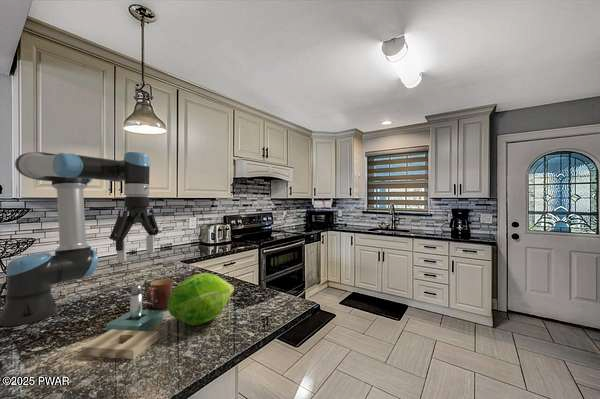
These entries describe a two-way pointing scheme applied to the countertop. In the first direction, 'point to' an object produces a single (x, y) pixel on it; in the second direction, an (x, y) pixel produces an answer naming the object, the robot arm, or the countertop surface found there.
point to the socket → (136, 321)
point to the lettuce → (199, 298)
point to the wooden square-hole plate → (112, 348)
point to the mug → (160, 293)
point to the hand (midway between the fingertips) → (137, 256)
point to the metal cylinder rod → (136, 302)
